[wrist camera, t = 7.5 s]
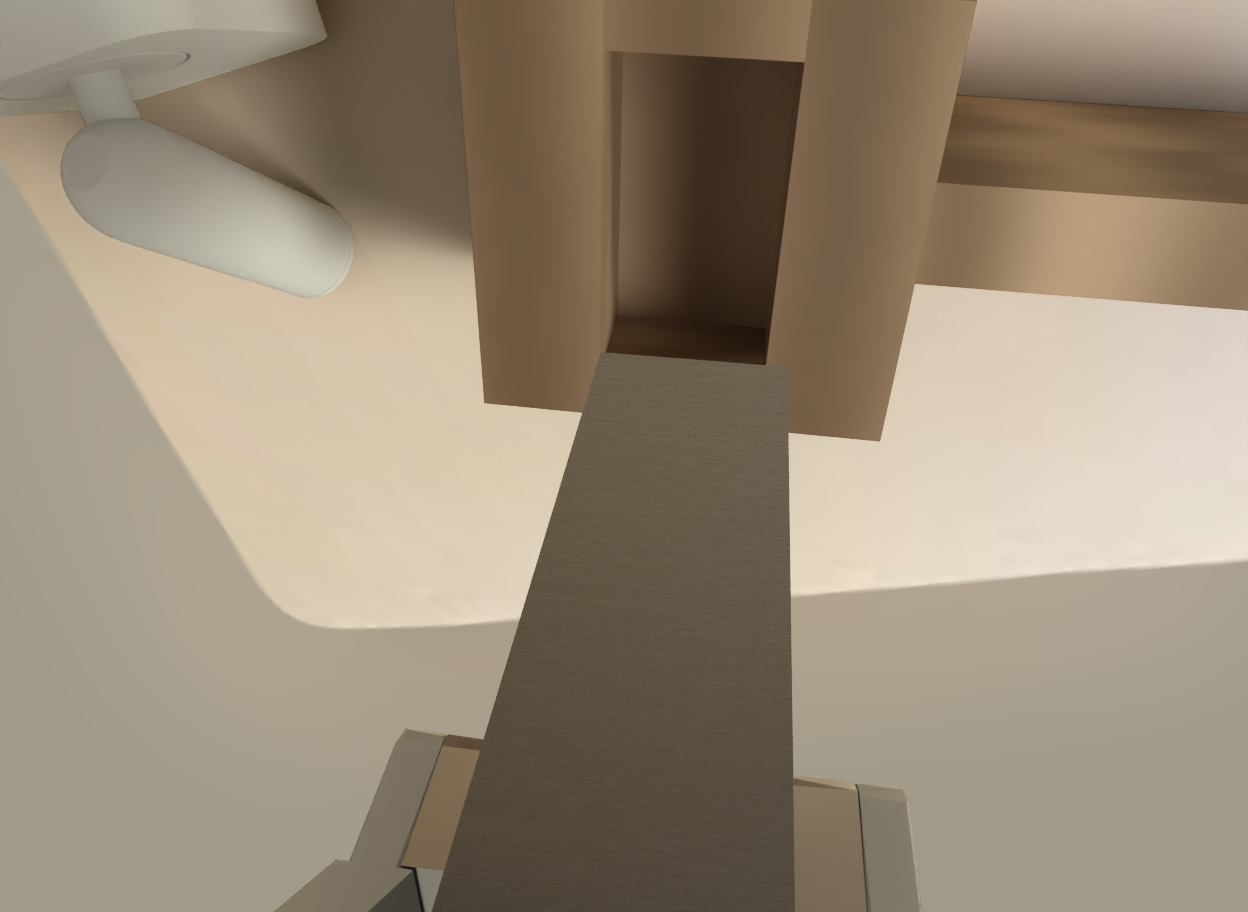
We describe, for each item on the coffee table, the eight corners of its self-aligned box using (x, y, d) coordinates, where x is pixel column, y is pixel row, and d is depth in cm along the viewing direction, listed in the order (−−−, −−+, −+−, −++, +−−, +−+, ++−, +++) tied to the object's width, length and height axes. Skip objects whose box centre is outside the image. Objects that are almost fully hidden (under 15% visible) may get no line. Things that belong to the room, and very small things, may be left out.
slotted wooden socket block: (1529, -37, 23) (1818, 44, 16) (1335, 334, 29) (1492, 500, 22) (538, -82, 25) (451, -27, 19) (547, 269, 31) (484, 403, 25)
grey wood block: (787, 366, 13) (801, 1401, 5) (746, 673, 16) (715, 1566, 8) (600, 352, 13) (310, 1310, 5) (600, 657, 16) (431, 1509, 8)
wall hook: (234, 312, 33) (7, 409, 24) (109, -9, 30) (-210, -37, 21) (445, 263, 31) (282, 349, 22) (335, -90, 28) (88, -162, 18)
